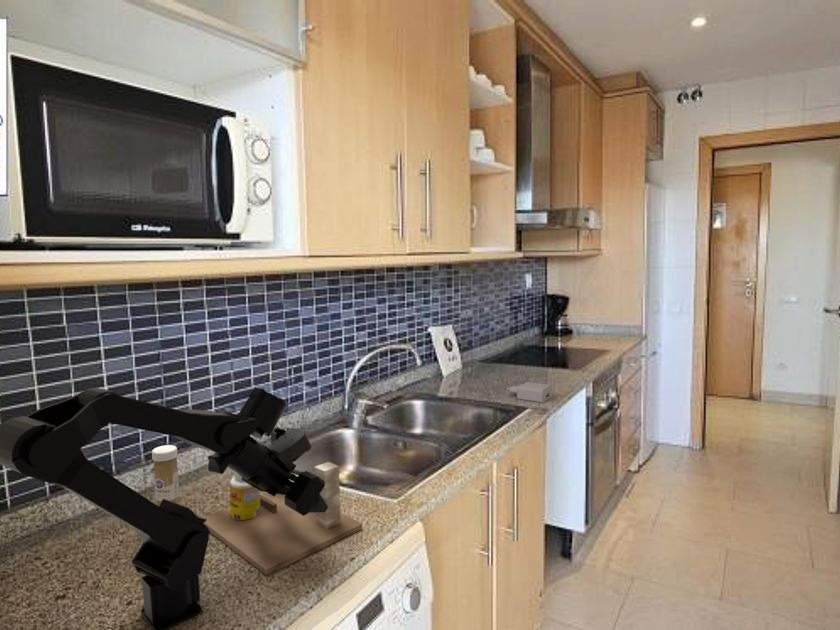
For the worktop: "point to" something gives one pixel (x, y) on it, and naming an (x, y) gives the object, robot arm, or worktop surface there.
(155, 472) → the sprinkles bottle
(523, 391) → the charger
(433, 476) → the worktop surface
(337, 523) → the square wooden board
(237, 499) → the supplement bottle
